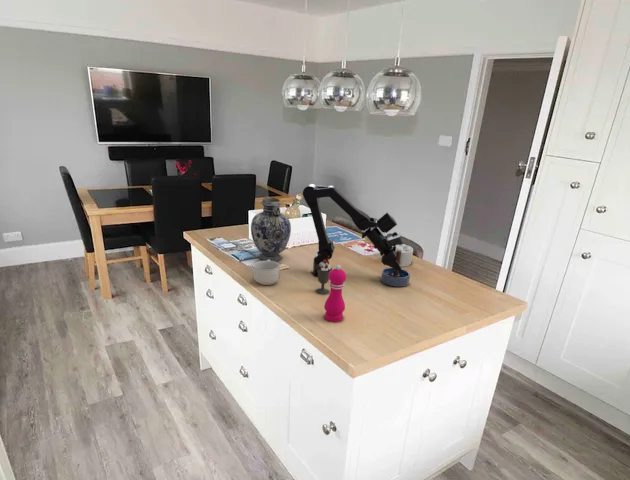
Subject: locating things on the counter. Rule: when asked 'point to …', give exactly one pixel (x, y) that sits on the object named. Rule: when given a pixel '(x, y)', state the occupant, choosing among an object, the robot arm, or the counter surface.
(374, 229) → the robot arm
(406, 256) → the lumpy-topped squat cylinder
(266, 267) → the teacup
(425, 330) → the counter surface
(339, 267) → the pepper mill
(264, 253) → the decorative vase
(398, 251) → the stirring stick
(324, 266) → the sundae
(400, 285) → the bowl
